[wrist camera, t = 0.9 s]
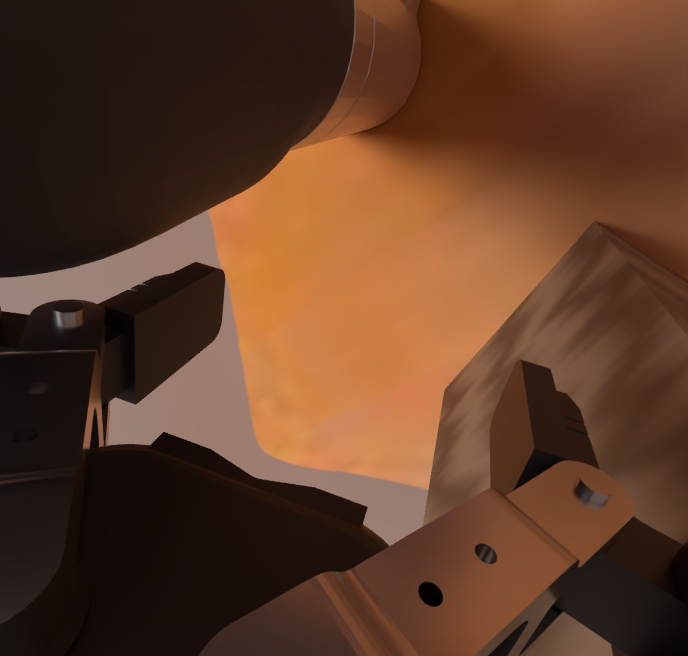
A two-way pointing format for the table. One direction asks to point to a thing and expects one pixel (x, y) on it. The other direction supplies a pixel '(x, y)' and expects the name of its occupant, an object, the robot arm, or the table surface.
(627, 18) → the table surface
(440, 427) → the walnut cabinet
